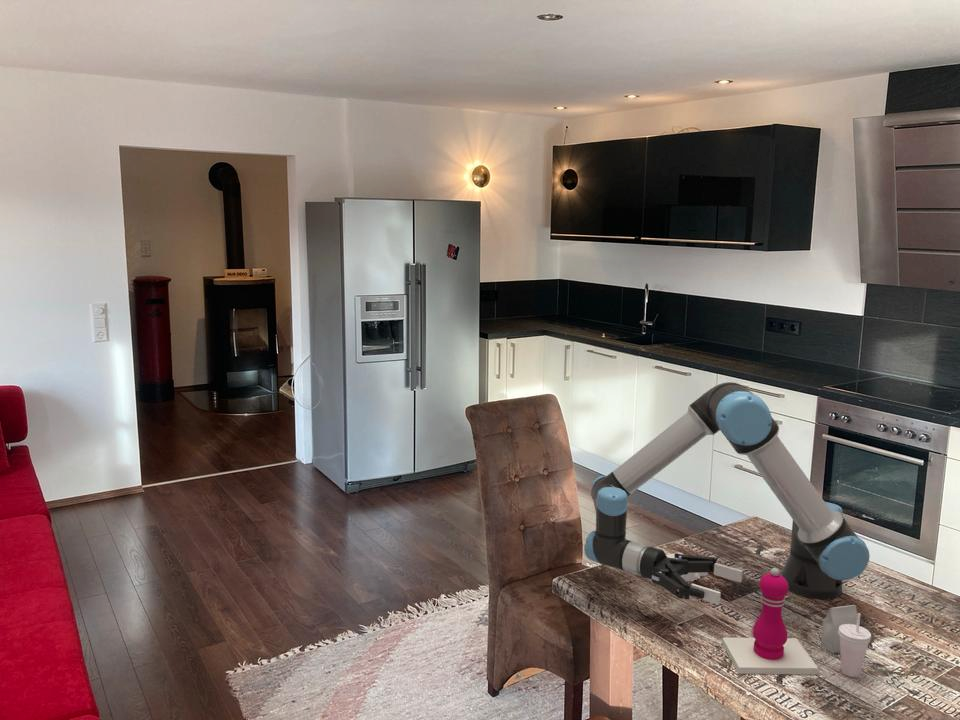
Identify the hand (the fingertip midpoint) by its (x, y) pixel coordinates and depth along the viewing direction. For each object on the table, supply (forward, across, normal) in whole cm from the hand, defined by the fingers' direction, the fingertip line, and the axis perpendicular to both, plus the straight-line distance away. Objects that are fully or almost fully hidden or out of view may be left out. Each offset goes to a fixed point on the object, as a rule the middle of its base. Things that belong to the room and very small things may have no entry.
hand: (731, 587), depth 176 cm
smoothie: (+25, -6, -14) cm, 29 cm away
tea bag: (+20, -15, -14) cm, 29 cm away
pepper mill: (+9, 0, -13) cm, 16 cm away
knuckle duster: (-25, -27, -15) cm, 39 cm away
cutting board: (+9, 0, -14) cm, 17 cm away
